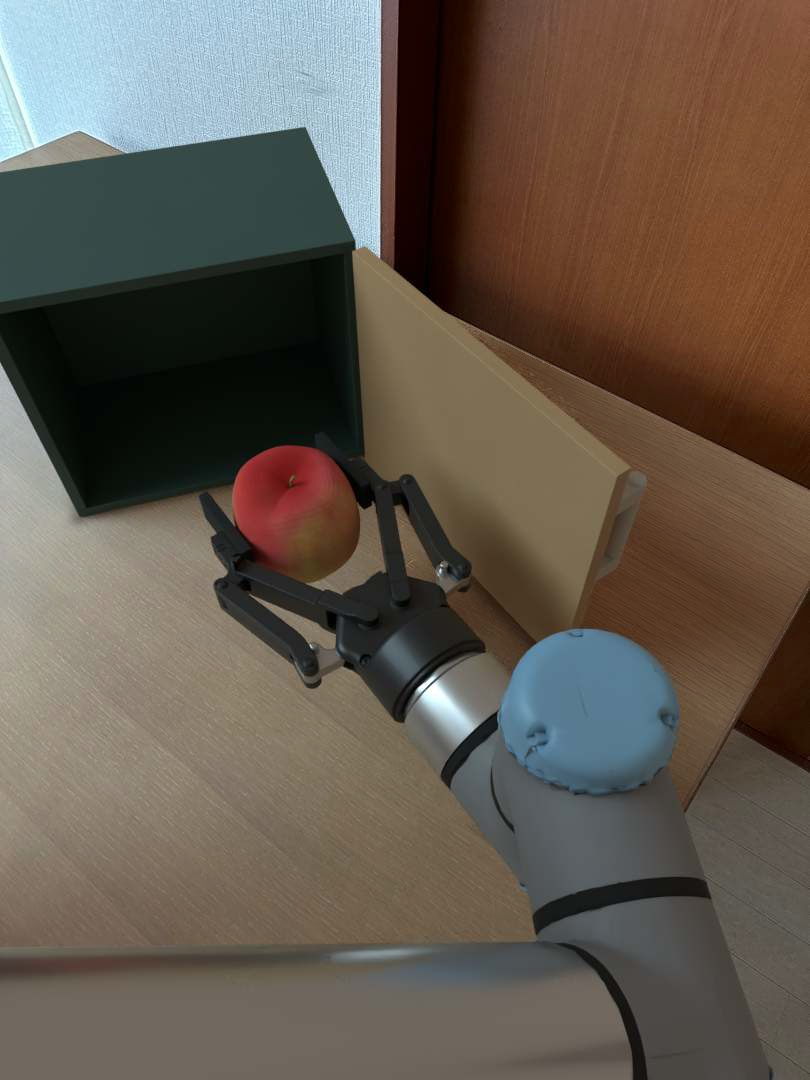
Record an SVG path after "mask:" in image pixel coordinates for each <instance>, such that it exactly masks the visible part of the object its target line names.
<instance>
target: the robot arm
mask: <svg viewBox="0 0 810 1080" xmlns="http://www.w3.org/2000/svg"><path fill="white" fill-rule="evenodd" d="M315 443H316V449H317V450H319V451H321V452H323V453H325V454H326V455H328V456H329V457H330V458H331V459H332V460H333V461H334V462H335V463H336V464H337V465H338V467H339V468H340V469H341V470H342V472H343V473H344V475H345V476H346V478H347V480H348V481H349V483H350V485H351V487H352V490H353V492H354V494H355V498H356V501H357V504H358V506H360V508H362V510H363V511H365V510H367V509H369V508H371V507H373V504H374V507H375V508H374V509H375V514H376V515H375V516H376V521H377V526H378V532H379V533H378V534H379V538H380V545H381V550H382V556H383V563H384V569H385V572H382V571H381V570H379V571H377V572H376V573H374V574H373V575H371V576H370V577H369V578H368V579H366V580H365V582H364V583H362V584H359V585H356V586H354V587H353V586H352V587H351V588H349V589H348V590H346V591H344V592H343V593H342V594H341V593H339V592H336V591H333V590H331V589H324V590H323V589H320V588H317V587H314V586H312V585H310V584H308V583H303V582H300V581H298V580H295V579H293V578H290V577H288V576H286V575H283V574H281V573H278V572H276V571H273V570H271V569H269V568H266V567H264V566H261V565H259V564H256V562H255V558H254V555H253V551H252V548H251V547H250V545H249V544H248V543H247V542H246V540H245V539H244V538H243V536H242V535H241V534H240V533H239V531H238V530H237V529H236V527H235V524H234V523H233V522H232V521H231V520H230V518H229V517H228V515H227V514H226V513H225V512H224V511H223V510H222V508H221V507H220V505H219V504H218V502H217V501H216V500H215V499H214V498H213V497H212V495H211V494H210V492H209V491H208V490H205V491H204V492H202V493H201V494H198V495H197V497H198V500H199V503H200V506H201V510H202V511H203V515H204V518H205V520H206V521H207V522H208V524H209V525H210V527H211V528H212V529H213V531H214V533H215V534H214V535H211V536H210V544H211V547H212V549H213V553H214V555H215V557H216V558H217V559H218V560H219V562H220V563H221V565H222V566H223V567H224V569H225V570H226V571H227V573H226V574H225V575H224V577H218V578H217V579H216V580H215V581H214V582H213V585H212V587H213V591H214V593H215V596H216V599H217V602H218V604H219V607H220V609H221V610H222V611H224V613H226V614H227V615H228V616H229V617H231V618H232V619H233V620H235V621H236V622H237V623H239V625H241V626H243V628H245V629H246V630H247V631H249V632H250V633H251V634H252V635H254V636H255V637H256V638H258V639H259V640H260V641H261V642H263V643H264V644H266V645H267V646H268V647H269V648H271V649H272V650H273V651H274V652H275V653H277V654H278V655H279V656H280V657H282V658H283V659H284V660H286V661H287V662H288V663H290V664H291V665H292V666H293V668H294V669H295V671H296V673H297V675H298V677H299V678H300V680H301V682H302V683H303V686H305V688H307V689H310V690H314V689H318V688H319V687H320V686H321V685H322V681H323V677H325V676H327V675H328V674H331V673H332V672H334V671H337V670H339V669H340V668H342V667H343V668H345V669H347V670H349V671H352V672H353V673H355V674H357V675H358V676H359V677H360V679H362V681H363V682H364V683H365V685H366V686H367V688H368V689H369V691H371V693H372V695H374V696H375V698H376V699H377V700H378V702H379V703H380V704H381V705H382V706H383V708H384V710H385V711H386V712H387V713H388V715H389V716H390V717H391V718H392V719H393V720H394V722H396V723H400V724H403V733H404V735H405V736H406V737H407V738H408V740H409V742H411V744H412V745H413V746H414V748H415V749H416V750H417V751H418V753H419V755H421V756H422V758H423V759H424V760H425V762H426V763H427V764H428V765H429V767H430V768H431V769H432V770H433V772H434V773H435V775H436V776H437V777H438V778H439V779H440V781H441V782H443V783H444V785H445V786H446V787H447V789H448V790H449V791H450V792H451V794H452V795H453V796H454V797H455V799H456V800H457V802H458V803H459V804H460V805H461V807H462V808H463V809H464V810H465V812H466V813H467V815H468V816H469V817H470V818H471V820H472V821H473V822H474V824H475V825H476V827H478V829H479V830H480V831H481V832H482V834H483V835H484V836H485V838H486V839H487V840H488V842H489V843H490V844H491V846H492V847H493V848H494V850H495V851H496V852H497V854H498V855H499V857H501V859H502V861H504V863H505V864H506V865H507V867H508V868H509V869H510V871H511V872H512V874H514V876H515V877H516V879H517V881H518V883H519V886H520V888H521V890H522V891H523V892H525V893H526V894H527V897H528V901H529V906H530V911H531V918H532V924H533V930H534V934H535V939H536V941H461V942H460V941H457V942H456V941H453V942H452V941H450V942H449V941H448V942H440V941H439V942H366V943H365V942H362V943H361V942H359V943H357V942H356V943H350V942H349V943H348V942H347V943H270V944H269V943H268V944H267V943H266V944H264V943H263V944H262V943H261V944H258V943H256V944H255V943H253V944H177V945H176V944H175V945H174V944H171V945H170V944H169V945H167V944H165V945H161V944H160V945H77V946H76V945H75V946H74V945H73V946H71V945H69V946H67V945H65V946H0V1080H777V1078H776V1076H775V1074H774V1070H773V1067H772V1066H771V1065H770V1064H769V1061H768V1059H767V1056H766V1053H765V1050H764V1047H763V1044H762V1042H761V1038H760V1035H759V1033H758V1029H757V1026H756V1024H755V1021H754V1018H753V1016H752V1013H751V1009H750V1007H749V1004H748V1001H747V998H746V995H745V993H744V992H745V991H744V990H743V986H742V984H741V981H740V977H739V975H738V971H737V969H736V966H735V963H734V960H733V957H732V954H731V951H730V949H729V945H728V942H727V940H726V937H725V934H724V931H723V928H722V926H721V923H720V920H719V917H718V914H717V910H716V908H715V905H714V902H713V899H712V895H711V892H710V889H709V887H708V882H707V879H706V876H705V872H704V870H703V867H702V864H701V860H700V857H699V855H698V851H697V848H696V846H695V842H694V839H693V835H692V833H691V829H690V827H689V824H688V821H687V818H686V815H685V811H684V809H683V805H682V802H681V799H680V796H679V794H678V790H677V787H676V785H675V782H674V779H673V775H672V772H671V769H670V767H669V764H668V763H669V762H670V761H671V759H673V754H672V753H673V752H674V751H675V747H676V743H677V737H676V736H677V734H678V731H679V729H680V721H679V720H680V717H681V709H680V708H681V707H680V700H679V697H678V694H677V690H676V687H675V685H674V683H673V680H672V679H671V676H670V675H669V673H668V672H667V670H666V669H665V668H664V666H663V665H662V663H660V662H659V661H658V659H657V658H656V657H655V656H654V655H653V654H651V653H650V652H649V651H648V650H647V649H646V648H645V647H643V646H642V645H640V644H638V643H636V642H635V641H633V640H632V639H629V638H627V637H626V636H624V635H620V634H618V633H616V632H611V631H608V630H603V629H596V628H594V629H593V628H580V629H571V630H568V631H563V632H559V633H556V634H553V635H551V636H549V637H547V638H545V639H543V640H541V641H540V642H538V643H537V642H536V643H535V644H534V645H533V646H531V647H530V648H529V649H528V650H527V651H526V652H525V653H524V655H523V656H522V657H521V658H520V660H518V662H517V664H516V666H515V668H514V670H513V672H511V671H510V670H509V668H508V667H507V666H506V664H504V662H502V660H501V659H500V658H499V657H498V656H497V654H495V653H493V652H487V651H486V644H485V642H484V640H482V639H481V638H480V637H479V636H478V634H477V633H476V632H475V631H474V630H473V629H472V628H471V627H470V626H469V625H468V623H467V622H466V621H465V620H464V619H463V618H462V617H461V615H460V614H459V613H458V612H457V611H455V610H454V609H453V608H452V607H451V606H450V605H449V603H448V599H449V598H450V597H452V596H453V595H454V594H456V592H457V593H460V594H462V593H466V592H468V591H469V590H470V588H471V579H472V574H471V570H472V565H471V563H470V561H468V560H467V559H466V558H465V557H464V556H463V555H461V554H460V553H459V552H458V551H457V550H456V549H454V548H453V547H452V545H451V543H450V542H449V540H448V538H447V536H446V534H445V532H444V531H443V529H442V527H441V525H440V523H439V521H438V520H437V518H436V516H435V514H434V512H433V510H432V509H431V507H430V505H429V503H428V501H427V499H426V498H425V496H424V494H423V492H422V490H421V489H420V487H419V485H418V483H417V481H416V479H415V478H414V476H412V475H410V474H404V475H402V476H401V477H400V478H399V480H397V481H392V482H388V481H386V480H383V479H382V478H381V477H380V476H379V475H378V474H377V473H376V472H375V471H374V470H373V469H372V468H371V467H370V466H369V465H368V464H367V463H366V462H365V459H364V458H363V459H362V458H361V457H360V456H359V457H355V458H353V459H352V460H350V458H349V459H348V458H347V457H346V456H345V454H344V453H343V452H342V451H341V450H340V449H339V448H338V447H337V446H336V445H335V444H334V443H333V442H332V441H331V440H330V438H329V437H328V436H327V435H326V434H325V433H324V432H323V431H322V432H320V433H318V434H316V435H315ZM396 506H401V507H402V510H403V511H404V513H405V515H406V517H407V519H408V522H409V523H410V525H411V527H412V529H413V531H414V533H415V534H416V537H417V538H418V541H419V543H420V545H421V547H422V548H423V550H424V551H425V554H426V556H427V558H428V560H429V561H430V562H429V563H430V564H431V566H432V567H433V569H434V571H435V572H434V579H435V581H436V582H432V581H429V580H424V579H420V578H417V577H414V576H410V575H408V573H407V566H406V561H405V555H404V551H403V550H402V549H403V548H402V542H401V537H400V531H399V527H398V521H397V515H396V510H395V507H396ZM256 598H257V599H259V600H262V601H264V602H266V603H268V604H270V605H273V606H275V607H278V608H281V609H283V610H285V611H287V612H289V613H292V614H295V615H297V616H299V617H302V618H304V619H306V620H308V621H311V622H313V623H315V624H317V625H318V626H319V627H320V628H322V630H324V631H326V632H328V633H331V634H333V635H335V644H334V645H335V646H334V647H333V648H331V649H329V648H325V647H324V646H322V645H321V644H320V643H318V642H316V641H310V642H308V641H307V640H306V638H305V637H304V636H303V635H302V634H301V633H300V632H299V631H298V630H296V629H295V628H294V627H292V626H291V625H290V624H288V623H287V622H286V621H285V620H283V619H282V618H281V617H279V616H278V615H277V614H275V613H274V612H273V611H271V609H268V607H266V606H265V605H264V604H262V603H261V602H260V601H259V600H257V599H256Z"/></svg>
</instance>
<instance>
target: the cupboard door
mask: <svg viewBox="0 0 810 1080" xmlns="http://www.w3.org/2000/svg"><path fill="white" fill-rule="evenodd" d="M352 256H353V272H354V288H355V304H356V319H357V335H358V351H359V367H360V383H361V398H362V414H363V430H364V446H365V455H364V461H365V462H366V463H367V464H368V465H369V466H370V467H371V468H372V469H373V470H374V471H375V472H376V473H377V474H378V475H379V476H380V477H381V478H382V479H383V480H386V481H388V482H392V481H397V480H399V478H400V477H401V476H402V475H404V474H410V475H412V476H414V478H415V479H416V481H417V483H418V485H419V487H420V489H421V490H422V492H423V494H424V496H425V498H426V499H427V501H428V503H429V505H430V507H431V509H432V510H433V512H434V514H435V516H436V518H437V520H438V521H439V523H440V525H441V527H442V529H443V531H444V532H445V534H446V536H447V538H448V540H449V542H450V543H451V545H452V547H453V548H454V549H456V550H457V551H458V552H459V553H460V554H461V555H463V556H464V557H465V558H466V559H467V560H468V561H470V563H471V565H472V570H471V576H473V577H474V579H476V581H477V582H478V583H479V584H480V585H481V586H482V587H483V588H484V589H485V590H486V591H487V593H489V594H490V595H491V597H493V598H494V600H495V601H497V603H498V604H499V605H500V606H501V607H502V608H503V610H505V611H506V612H507V613H508V614H509V615H510V616H511V617H512V619H513V620H514V621H515V622H516V623H517V624H518V625H519V627H521V628H522V629H523V630H524V631H525V632H526V633H527V634H528V636H530V638H531V639H532V640H533V641H534V642H535V643H536V644H537V643H538V642H540V641H541V640H543V639H545V638H547V637H549V636H551V635H553V634H556V633H559V632H563V631H568V630H571V629H581V626H582V623H583V620H584V617H585V614H586V611H587V607H588V604H589V601H590V599H591V596H592V592H593V589H594V585H595V583H597V582H599V580H601V579H602V578H604V577H605V576H607V575H608V574H609V573H611V572H612V571H614V570H616V569H617V568H618V567H619V564H620V562H621V559H622V556H623V553H624V550H625V547H626V545H627V541H628V538H629V535H630V533H631V531H632V527H633V524H634V521H635V519H636V516H637V513H638V510H639V507H640V505H641V501H642V499H643V497H644V493H645V491H646V488H647V485H648V478H647V477H646V476H645V474H644V473H642V472H640V471H637V470H635V471H634V470H633V471H632V467H631V466H630V465H629V464H628V463H626V462H625V461H624V460H623V459H622V458H621V457H620V456H618V455H617V454H616V453H615V452H613V451H612V449H609V447H607V446H606V445H605V444H604V443H602V442H601V440H599V439H598V438H597V437H595V435H593V434H592V433H591V432H590V431H588V430H587V429H586V428H585V427H583V426H582V425H581V424H580V423H579V422H577V421H576V420H575V419H574V418H572V417H571V416H570V415H569V414H568V413H566V412H565V411H564V410H563V409H562V408H560V407H559V406H558V405H557V404H556V403H555V402H553V401H552V400H550V399H549V397H547V396H546V395H545V394H544V393H543V392H542V391H540V390H539V389H538V388H536V387H535V386H534V385H533V384H531V382H529V381H528V380H527V379H526V378H524V377H523V376H522V375H521V374H520V373H519V372H518V371H516V370H515V369H514V368H513V367H511V366H510V365H509V364H508V363H506V361H504V360H503V359H501V358H500V357H499V356H498V355H496V353H494V351H492V350H491V349H490V348H489V347H487V345H485V344H484V343H482V342H481V341H480V340H479V339H478V338H476V337H475V336H474V335H473V334H471V332H469V331H468V330H466V329H465V328H464V327H463V326H462V325H460V324H459V322H457V321H456V320H454V319H453V317H451V316H450V315H449V314H447V313H446V312H445V311H444V310H442V308H440V307H439V306H438V305H436V304H435V302H433V301H432V300H430V298H428V297H427V296H426V295H425V294H423V293H422V292H421V290H419V289H417V288H416V287H415V286H414V285H412V283H411V282H409V281H407V280H406V278H404V277H403V276H402V275H400V274H399V273H398V272H397V271H396V270H395V269H393V268H392V267H391V266H390V265H389V264H387V262H385V261H384V260H382V259H381V258H380V257H379V256H378V255H377V254H376V253H374V252H373V251H372V250H371V249H369V248H368V247H367V246H366V245H364V246H361V247H359V248H356V250H354V251H352Z"/></svg>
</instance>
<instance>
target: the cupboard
mask: <svg viewBox="0 0 810 1080" xmlns="http://www.w3.org/2000/svg"><path fill="white" fill-rule="evenodd" d="M343 211H344V210H343V209H342V206H341V205H340V202H339V200H338V198H337V196H336V193H335V191H334V189H333V187H332V184H331V182H330V179H329V177H328V174H327V173H326V170H325V168H324V166H323V164H322V161H321V159H320V157H319V154H318V152H317V150H316V148H315V145H314V143H313V140H312V139H311V136H310V133H309V132H308V129H307V127H306V126H302V127H296V128H289V129H288V128H287V129H281V130H275V131H268V132H262V133H256V134H248V135H243V136H235V137H228V138H222V139H221V138H220V139H214V140H207V141H202V142H194V143H188V144H187V143H186V144H181V145H180V144H179V145H173V146H167V147H162V148H161V147H160V148H153V149H148V150H139V151H134V152H133V151H132V152H127V153H126V152H125V153H119V154H114V155H107V156H100V157H94V158H87V159H79V160H73V161H67V162H59V163H54V164H46V165H38V166H33V167H27V168H25V167H24V168H19V169H12V170H6V171H0V366H1V367H2V369H3V371H4V373H5V375H6V377H7V379H8V381H9V382H10V385H11V387H12V388H13V390H14V392H15V395H16V397H17V398H18V400H19V402H20V404H21V407H23V410H24V413H25V414H26V416H27V418H28V419H29V421H30V422H29V423H30V424H31V425H32V428H33V429H34V431H35V433H36V436H37V437H38V439H39V441H40V444H41V445H42V447H43V449H44V451H45V452H46V454H47V457H48V458H49V460H50V462H51V464H52V466H53V468H54V470H55V472H56V474H57V476H58V478H59V480H60V482H61V484H62V486H63V488H64V490H65V492H66V493H67V496H68V498H69V500H70V501H71V503H72V505H73V507H74V509H75V511H76V513H77V515H78V517H79V518H83V517H87V516H91V515H96V514H100V513H106V512H110V511H114V510H115V511H116V510H120V509H124V508H127V507H133V506H138V505H141V504H142V505H143V504H146V503H147V504H148V503H151V502H156V501H160V500H165V499H166V500H167V499H171V498H174V497H179V496H184V495H187V494H193V493H198V492H201V491H202V492H203V491H208V490H213V489H215V488H220V487H226V486H229V485H234V484H235V480H236V477H237V475H238V473H239V471H240V469H241V468H242V467H243V466H244V465H245V464H246V463H247V462H248V461H249V460H250V459H252V458H253V457H255V456H257V455H258V454H260V453H262V452H264V451H266V450H269V449H271V448H275V447H279V446H302V447H309V448H314V449H316V443H315V435H316V434H318V433H320V432H322V431H323V432H324V433H325V434H326V435H327V436H328V437H329V438H330V440H331V441H332V442H333V443H334V444H335V445H336V446H337V447H338V448H339V449H340V450H341V451H342V452H343V453H344V454H345V456H346V457H347V458H348V459H349V460H350V459H355V458H357V457H359V458H360V457H362V456H363V457H364V456H365V446H364V430H363V414H362V398H361V383H360V367H359V351H358V335H357V319H356V304H355V288H354V272H353V256H352V251H354V250H357V246H356V245H357V244H356V239H355V236H354V234H353V232H352V230H351V228H350V225H349V222H348V221H347V218H346V216H345V214H344V212H343Z"/></svg>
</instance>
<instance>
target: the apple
mask: <svg viewBox="0 0 810 1080" xmlns="http://www.w3.org/2000/svg"><path fill="white" fill-rule="evenodd" d="M231 507H232V508H231V509H232V517H233V522H234V523H233V524H234V526H235V527H236V529H237V530H238V531H239V533H240V534H241V535H242V536H243V538H244V539H245V540H246V542H247V543H248V544H249V545H250V547H251V548H252V551H253V555H254V558H255V562H256V564H259V565H261V566H264V567H266V568H269V569H271V570H273V571H276V572H278V573H281V574H283V575H286V576H288V577H290V578H293V579H295V580H298V581H300V582H303V583H305V584H314V583H316V582H319V581H322V580H323V579H326V578H327V577H329V576H331V575H332V574H334V573H335V572H336V571H338V570H339V569H341V568H342V567H344V565H346V563H347V562H348V561H349V560H350V559H351V558H352V557H353V555H354V553H355V552H356V550H357V547H358V545H359V540H360V534H361V515H360V509H359V504H358V503H357V501H356V498H355V494H354V492H353V490H352V487H351V485H350V483H349V481H348V480H347V478H346V476H345V475H344V473H343V472H342V470H341V469H340V468H339V467H338V465H337V464H336V463H335V462H334V461H333V460H332V459H331V458H330V457H329V456H328V455H326V454H325V453H323V452H321V451H319V450H317V449H314V448H309V447H302V446H279V447H275V448H271V449H269V450H266V451H264V452H262V453H260V454H258V455H257V456H255V457H253V458H252V459H250V460H249V461H248V462H247V463H246V464H245V465H244V466H243V467H242V468H241V469H240V471H239V473H238V475H237V477H236V480H235V483H234V484H233V489H232V496H231Z"/></svg>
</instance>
